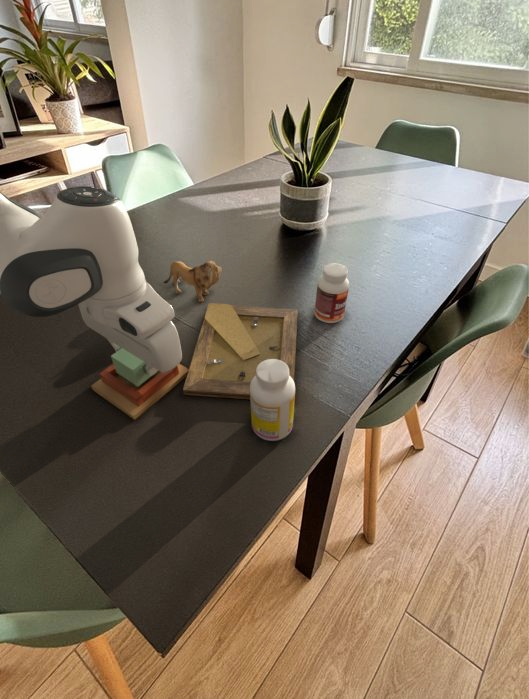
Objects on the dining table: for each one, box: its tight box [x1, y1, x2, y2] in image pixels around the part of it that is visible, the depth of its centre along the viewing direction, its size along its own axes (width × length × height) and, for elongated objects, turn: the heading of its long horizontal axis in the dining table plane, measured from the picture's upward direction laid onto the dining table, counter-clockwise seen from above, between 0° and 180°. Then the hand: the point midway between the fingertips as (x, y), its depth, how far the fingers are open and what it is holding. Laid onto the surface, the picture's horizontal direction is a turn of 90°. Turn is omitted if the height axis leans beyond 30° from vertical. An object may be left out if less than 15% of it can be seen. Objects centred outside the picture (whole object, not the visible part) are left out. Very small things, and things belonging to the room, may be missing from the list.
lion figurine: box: [163, 260, 222, 303], centre depth 91 cm, size 15×5×9 cm, turn 67°
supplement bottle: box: [249, 359, 296, 442], centre depth 64 cm, size 7×7×13 cm
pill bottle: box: [314, 262, 350, 324], centre depth 85 cm, size 6×6×11 cm
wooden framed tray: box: [90, 363, 189, 420], centre depth 74 cm, size 13×11×3 cm
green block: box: [110, 348, 158, 386], centre depth 72 cm, size 6×6×4 cm
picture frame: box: [182, 302, 298, 400], centre depth 80 cm, size 19×2×24 cm
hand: (137, 363), depth 72 cm, fingers closed on green block, 5 cm apart
